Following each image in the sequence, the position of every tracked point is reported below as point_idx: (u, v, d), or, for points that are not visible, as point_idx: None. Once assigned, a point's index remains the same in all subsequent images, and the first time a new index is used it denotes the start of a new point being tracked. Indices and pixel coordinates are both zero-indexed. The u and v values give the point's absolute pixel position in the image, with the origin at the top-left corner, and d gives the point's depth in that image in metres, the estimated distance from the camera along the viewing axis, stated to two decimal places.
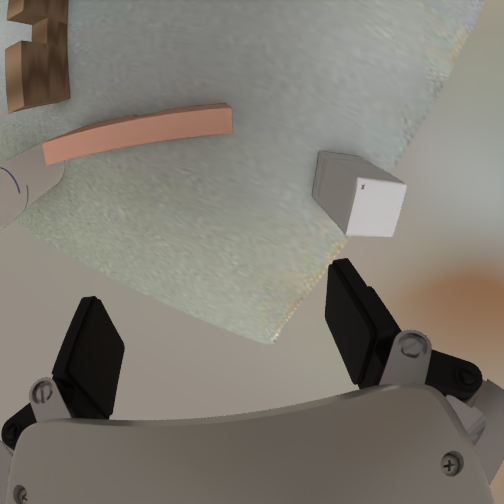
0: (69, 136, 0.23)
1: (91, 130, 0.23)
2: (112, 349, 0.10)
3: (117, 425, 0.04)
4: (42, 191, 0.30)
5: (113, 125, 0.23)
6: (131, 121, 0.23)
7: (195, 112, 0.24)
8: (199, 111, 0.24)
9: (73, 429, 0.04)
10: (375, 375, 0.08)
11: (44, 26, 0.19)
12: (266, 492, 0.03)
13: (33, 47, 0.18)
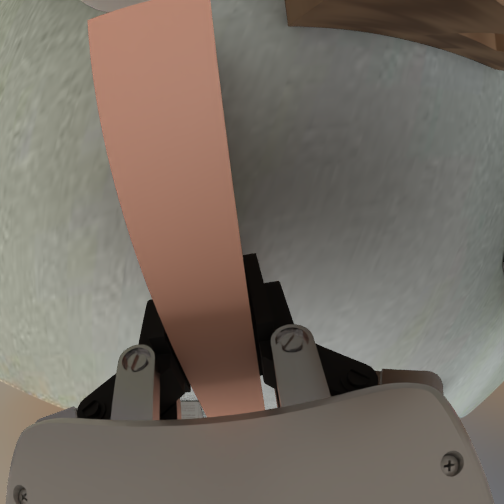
0: (221, 156, 0.06)
1: (238, 263, 0.07)
2: None
3: (117, 425, 0.04)
4: None
5: (248, 332, 0.08)
6: (255, 367, 0.09)
7: None
8: None
9: (73, 429, 0.04)
10: (262, 367, 0.09)
11: (485, 39, 0.09)
12: (266, 492, 0.03)
13: (493, 29, 0.06)
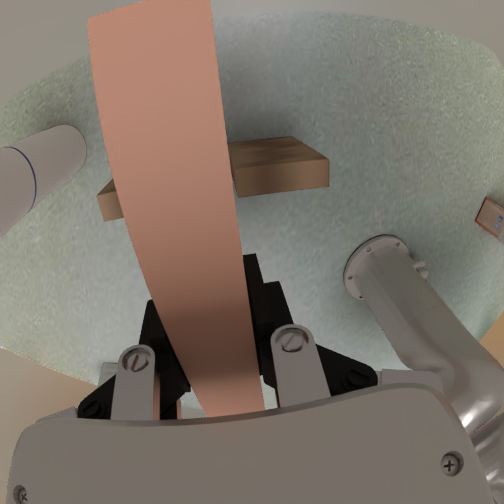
0: (221, 154, 0.06)
1: (238, 262, 0.07)
2: None
3: (117, 425, 0.04)
4: None
5: (248, 331, 0.08)
6: (255, 366, 0.09)
7: None
8: None
9: (73, 429, 0.04)
10: (262, 367, 0.09)
11: None
12: (266, 492, 0.03)
13: None
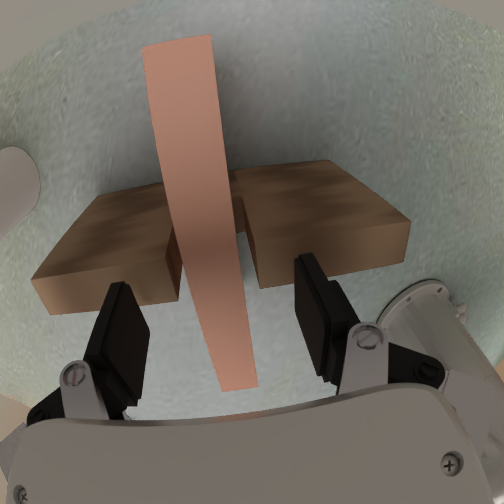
0: (217, 127, 0.10)
1: (227, 192, 0.11)
2: (140, 334, 0.11)
3: (117, 425, 0.04)
4: None
5: (234, 245, 0.13)
6: (240, 280, 0.14)
7: (251, 359, 0.17)
8: (253, 363, 0.17)
9: (73, 429, 0.04)
10: (333, 366, 0.08)
11: None
12: (266, 492, 0.03)
13: None
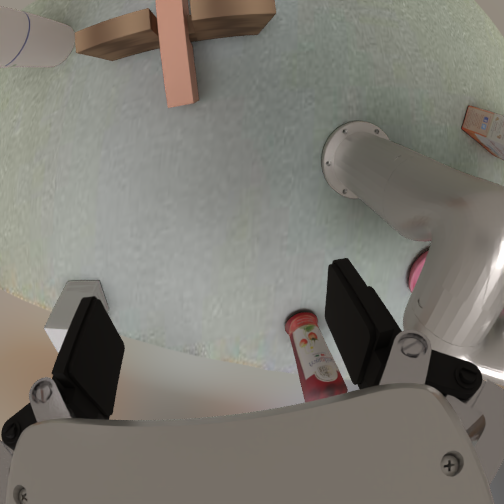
0: None
1: None
2: (112, 349, 0.10)
3: (117, 425, 0.04)
4: None
5: (180, 0, 0.19)
6: (182, 16, 0.20)
7: (187, 71, 0.23)
8: (188, 74, 0.23)
9: (73, 429, 0.04)
10: (375, 375, 0.08)
11: None
12: (266, 492, 0.03)
13: (148, 35, 0.22)
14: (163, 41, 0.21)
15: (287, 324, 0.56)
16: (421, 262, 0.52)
